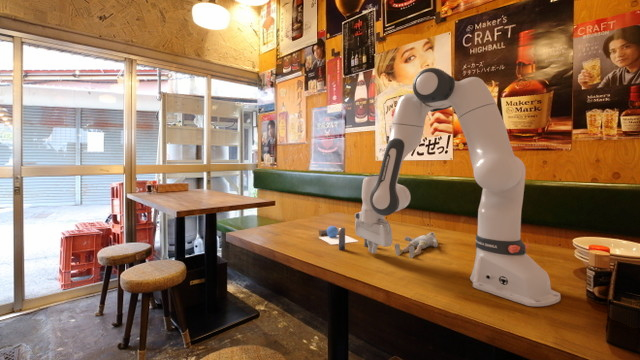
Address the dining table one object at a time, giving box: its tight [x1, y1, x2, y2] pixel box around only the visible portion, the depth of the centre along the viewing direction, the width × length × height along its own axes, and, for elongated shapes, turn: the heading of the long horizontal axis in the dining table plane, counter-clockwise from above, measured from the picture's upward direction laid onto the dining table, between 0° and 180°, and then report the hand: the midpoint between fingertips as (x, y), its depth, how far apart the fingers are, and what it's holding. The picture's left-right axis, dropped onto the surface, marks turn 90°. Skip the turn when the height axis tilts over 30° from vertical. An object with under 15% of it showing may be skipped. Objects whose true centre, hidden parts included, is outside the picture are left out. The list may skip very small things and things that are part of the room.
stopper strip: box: [318, 229, 328, 237], centre depth 154 cm, size 2×9×2 cm, turn 115°
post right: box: [363, 239, 369, 248], centre depth 133 cm, size 3×3×9 cm
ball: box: [326, 225, 339, 237], centre depth 148 cm, size 6×6×6 cm
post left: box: [338, 227, 346, 251], centre depth 127 cm, size 3×3×9 cm
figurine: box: [394, 231, 439, 259], centre depth 129 cm, size 13×6×30 cm
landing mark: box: [318, 234, 360, 246], centre depth 144 cm, size 14×14×1 cm
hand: (372, 252), depth 118 cm, fingers closed
